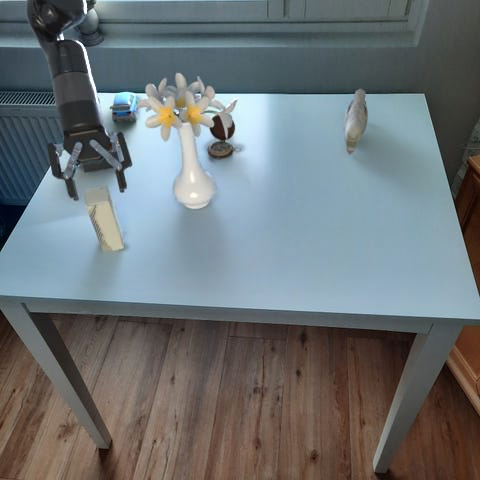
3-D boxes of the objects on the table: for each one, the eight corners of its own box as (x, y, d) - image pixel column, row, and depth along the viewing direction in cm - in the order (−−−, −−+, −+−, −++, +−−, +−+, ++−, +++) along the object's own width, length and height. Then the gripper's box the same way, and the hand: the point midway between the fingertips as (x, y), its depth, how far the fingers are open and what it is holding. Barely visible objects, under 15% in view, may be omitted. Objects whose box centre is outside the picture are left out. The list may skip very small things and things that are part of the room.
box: (102, 240, 95) (83, 187, 85) (124, 236, 96) (107, 183, 85) (104, 258, 92) (84, 206, 82) (127, 253, 92) (109, 201, 82)
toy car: (140, 102, 127) (135, 81, 123) (136, 126, 120) (131, 105, 116) (118, 103, 127) (113, 82, 123) (113, 128, 120) (107, 106, 116)
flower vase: (242, 216, 97) (237, 99, 78) (154, 221, 98) (126, 105, 78) (241, 178, 105) (235, 62, 85) (159, 182, 106) (135, 68, 86)
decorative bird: (337, 154, 109) (342, 124, 103) (345, 117, 118) (349, 87, 113) (361, 156, 108) (367, 126, 102) (367, 119, 118) (372, 89, 112)
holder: (84, 173, 109) (79, 157, 106) (83, 152, 114) (78, 137, 111) (121, 166, 110) (116, 151, 107) (118, 146, 115) (114, 131, 112)
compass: (205, 159, 110) (202, 130, 104) (211, 140, 115) (209, 111, 109) (239, 161, 109) (237, 132, 103) (244, 142, 114) (242, 113, 108)
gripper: (32, 105, 80) (55, 200, 83) (115, 92, 82) (135, 186, 84) (44, 118, 88) (65, 205, 90) (120, 106, 89) (139, 192, 92)
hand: (99, 196), depth 87 cm, fingers open, 8 cm apart
